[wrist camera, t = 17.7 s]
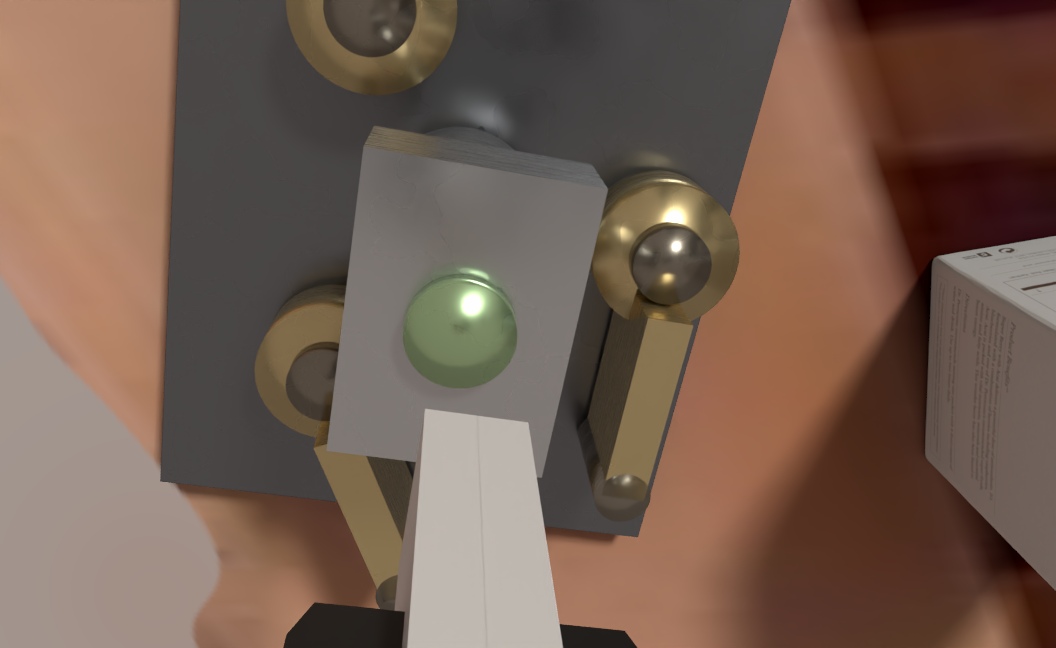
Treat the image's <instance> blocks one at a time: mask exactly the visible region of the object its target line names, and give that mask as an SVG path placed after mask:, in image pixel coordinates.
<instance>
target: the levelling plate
mask: <svg viewBox="0 0 1056 648" xmlns="http://www.w3.org/2000/svg"><path fill="white" fill-rule="evenodd" d="M790 3H791V0H457V23H456V29H455V34H454V37H453V40H452V43H451V46H450V48H449V50H448V52H447V54H446V56H445V57H444V59H443V60H442V62H441V63H440V65H439V66H438V67H437V68H436V69H435V70H434V72H433V73H431V74H430V75H429V76H428V77H427V78H426V79H424V80H423V81H422V82H420V83H419V84H417V85H415V86H413V87H411V88H409V89H407V90H404V91H401V92H398V93H394V94H388V95H365V94H361V93H356V92H352V91H350V90H347V89H344V88H342V87H340V86H338V85H336V84H334V83H332V82H331V81H329V80H328V79H326V78H325V77H324V76H322V75H321V74H320V73H319V72H318V71H317V70H315V68H314V67H313V66H312V65H311V64H310V63H309V62H308V61H307V59H306V58H305V57H304V55H303V54H302V52H301V51H300V49H299V47H298V45H297V43H296V42H295V39H294V37H293V34H292V32H291V29H290V25H289V22H288V18H287V10H286V0H180V22H179V46H178V70H177V94H176V118H175V142H174V166H173V190H172V214H171V238H170V262H169V286H168V311H167V335H166V359H165V383H164V407H163V431H162V455H161V480H160V481H162V482H171V483H179V484H188V485H196V486H205V487H213V488H222V489H231V490H239V491H248V492H256V493H265V494H273V495H282V496H290V497H299V498H307V499H316V500H325V501H333V502H338V501H337V499H336V497H335V495H334V493H333V490H332V488H331V486H330V484H329V482H328V479H327V477H326V475H325V473H324V470H323V468H322V466H321V464H320V462H319V459H318V457H317V455H316V453H315V451H314V444H315V441H316V437H311V436H307V435H305V434H302V433H299V432H297V431H295V430H293V429H291V428H289V427H288V426H286V425H285V424H283V423H282V422H281V421H279V420H278V419H277V418H276V417H275V416H274V415H273V414H272V413H271V412H270V411H269V409H268V408H267V407H266V405H265V404H264V402H263V400H262V398H261V397H260V394H259V392H258V389H257V385H256V381H255V361H256V356H257V353H258V350H259V348H260V345H261V343H262V341H263V339H264V338H265V336H266V334H267V332H268V330H269V328H270V326H271V324H272V322H273V320H274V318H275V317H276V315H277V313H278V312H279V310H280V309H281V308H282V306H283V305H284V304H285V303H286V302H288V301H289V300H290V299H291V298H293V297H294V296H295V295H297V294H299V293H301V292H302V291H305V290H307V289H310V288H313V287H317V286H321V285H345V286H346V294H345V303H344V311H343V319H342V327H341V335H340V344H339V352H338V360H337V368H336V376H335V385H334V393H333V401H332V409H331V417H330V426H329V434H328V442H327V450H326V451H331V452H339V453H347V454H355V455H363V456H371V457H379V458H387V459H395V460H403V461H405V462H406V464H407V467H408V469H409V472H410V474H411V477H412V479H413V477H414V471H415V465H416V459H417V453H418V447H419V441H420V435H421V429H422V423H423V417H424V411H425V409H431V410H439V411H446V412H454V413H461V414H469V415H476V416H484V417H491V418H499V419H506V420H514V421H521V422H528V424H529V431H530V437H531V444H532V450H533V457H534V463H535V470H536V476H537V483H538V489H539V496H540V502H541V508H542V515H543V521H544V526H547V527H555V528H564V529H572V530H581V531H589V532H598V533H606V534H615V535H623V536H632V537H638V535H639V531H640V528H641V524H642V521H643V517H644V514H645V511H644V512H643V513H642V514H641V515H640V516H638V517H637V518H635V519H632V520H629V521H625V522H616V521H611V520H609V519H606V518H605V517H603V516H602V515H601V514H600V513H599V512H598V510H597V508H596V505H595V501H594V497H593V493H592V489H591V485H590V481H589V478H588V474H587V470H586V466H585V462H584V458H583V454H582V450H581V446H580V442H579V438H578V431H579V427H580V425H581V424H582V422H583V421H584V420H585V419H586V418H587V416H588V412H589V408H590V404H591V400H592V396H593V392H594V388H595V384H596V380H597V376H598V372H599V368H600V363H601V359H602V355H603V351H604V347H605V343H606V339H607V335H608V331H609V327H610V323H611V319H612V314H613V309H612V308H611V307H610V306H609V305H608V303H607V302H606V301H605V300H604V298H603V296H602V295H601V293H600V291H599V289H598V286H597V284H596V282H595V279H594V277H593V275H592V272H591V270H590V266H591V261H592V257H593V253H594V248H595V244H596V240H597V235H598V231H599V227H600V222H601V218H602V214H603V209H604V205H605V201H606V196H607V192H608V189H609V188H610V187H612V186H613V185H614V184H616V183H617V182H619V181H621V180H622V179H624V178H626V177H629V176H631V175H633V174H637V173H640V172H645V171H658V170H661V171H669V172H673V173H677V174H680V175H683V176H685V177H687V178H689V179H690V180H692V181H694V182H695V183H696V184H698V185H699V186H700V187H701V188H702V189H704V190H705V191H706V192H707V193H708V194H709V195H710V196H711V197H712V198H713V199H714V200H716V201H717V202H718V203H719V204H720V205H721V206H722V207H723V208H724V209H725V211H726V212H727V213H728V215H729V216H730V213H731V209H732V206H733V202H734V199H735V195H736V192H737V188H738V185H739V181H740V178H741V174H742V171H743V167H744V164H745V160H746V157H747V153H748V150H749V146H750V143H751V139H752V136H753V132H754V129H755V125H756V122H757V118H758V115H759V111H760V108H761V104H762V101H763V97H764V94H765V90H766V87H767V83H768V80H769V76H770V73H771V69H772V66H773V62H774V59H775V55H776V52H777V48H778V45H779V42H780V38H781V35H782V31H783V28H784V24H785V21H786V17H787V14H788V10H789V7H790ZM700 318H701V316H700V317H698V318H696V319H695V320H692V321H691V322H692V324H693V329H692V332H691V336H690V340H689V343H688V347H687V350H686V354H685V357H684V361H683V364H682V368H681V371H680V375H679V378H678V382H677V385H676V389H675V392H674V396H673V399H672V403H671V406H670V410H669V414H668V417H667V421H666V424H665V428H664V431H663V435H662V438H661V442H660V445H659V449H658V452H657V456H656V459H655V463H654V466H653V470H652V473H651V477H650V481H649V484H648V487H649V490H650V493H651V489H652V486H653V482H654V479H655V475H656V472H657V468H658V465H659V461H660V458H661V454H662V451H663V447H664V444H665V440H666V437H667V433H668V430H669V426H670V423H671V419H672V416H673V412H674V409H675V405H676V402H677V398H678V395H679V391H680V388H681V384H682V381H683V377H684V374H685V370H686V367H687V363H688V360H689V356H690V353H691V349H692V346H693V342H694V339H695V335H696V332H697V328H698V325H699V321H700Z"/></svg>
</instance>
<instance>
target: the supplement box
mask: <svg viewBox="0 0 1056 648" xmlns="http://www.w3.org/2000/svg"><path fill="white" fill-rule="evenodd" d="M925 457H926V459H927V460H928V461H929V462H930V463H931V464H932V465H933V466H934V467H935V468H936V469H937V470H938V471H939V472H940V473H941V474H942V475H943V476H944V477H945V478H946V479H947V480H948V481H949V482H950V483H951V484H952V485H953V486H954V487H955V488H956V489H957V490H958V491H959V492H960V494H961V495H962V496H963V497H964V498H965V499H966V500H967V501H968V502H969V503H970V504H971V505H972V506H973V507H974V508H975V509H976V510H977V511H978V512H979V513H980V514H981V515H982V516H983V517H984V518H985V519H986V520H987V521H988V522H989V523H990V524H991V525H992V526H993V527H994V528H995V529H996V530H997V531H998V532H999V534H1000V535H1001V536H1002V537H1003V538H1004V539H1005V540H1006V541H1007V542H1008V543H1009V544H1010V545H1011V546H1012V547H1013V548H1014V549H1015V550H1016V551H1017V552H1018V553H1019V554H1020V555H1021V556H1022V557H1023V558H1024V559H1025V560H1026V561H1027V562H1028V563H1029V564H1030V565H1031V566H1032V567H1033V568H1034V569H1035V570H1036V571H1037V572H1038V573H1039V574H1040V575H1041V576H1042V577H1043V578H1044V579H1045V580H1046V581H1047V582H1048V583H1049V584H1050V585H1051V586H1052V587H1053V588H1054V590H1055V591H1056V236H1052V237H1047V238H1041V239H1035V240H1029V241H1023V242H1018V243H1012V244H1006V245H1000V246H994V247H988V248H982V249H976V250H970V251H964V252H958V253H952V254H947V255H942V256H937V257H936V258H934V260H933V262H932V280H931V306H930V332H929V357H928V383H927V410H926V438H925Z"/></svg>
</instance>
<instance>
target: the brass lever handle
mask: <svg viewBox="0 0 1056 648" xmlns="http://www.w3.org/2000/svg"><path fill="white" fill-rule="evenodd" d="M739 254H740V250H739V240H738V234H737V231H736V228H735V226H734V224H733V222H732V220H731V218H730V216H729V215H728V213H727V212H726V211H725V209H724V208H723V207H722V206H721V205H720V204H719V203H718V202H717V201H716V200H714V199H713V198H712V197H711V196H710V195H709V194H708V193H707V192H706V191H705V190H704V189H702V188H701V187H700V186H699V185H698V184H696V183H695V182H694V181H692V180H690V179H689V178H687V177H685V176H683V175H680V174H677V173H673V172H669V171H661V170H658V171H645V172H640V173H637V174H633V175H631V176H629V177H626V178H624V179H622V180H621V181H619V182H617V183H616V184H614V185H613V186H612V187H610V188H609V189H608V192H607V196H606V201H605V205H604V209H603V214H602V218H601V222H600V227H599V231H598V235H597V240H596V244H595V248H594V253H593V257H592V261H591V266H590V270H591V272H592V275H593V277H594V279H595V282H596V284H597V286H598V289H599V291H600V293H601V295H602V296H603V298H604V300H605V301H606V302H607V303H608V305H609V306H610V307H611V308H612V309H613V314H612V319H611V323H610V327H609V331H608V335H607V339H606V343H605V347H604V351H603V355H602V359H601V363H600V368H599V372H598V376H597V380H596V384H595V388H594V392H593V396H592V400H591V404H590V408H589V412H588V416H587V418H586V419H585V420H584V421H583V422H582V424H581V425H580V427H579V431H578V438H579V442H580V446H581V450H582V454H583V458H584V462H585V466H586V470H587V474H588V478H589V481H590V485H591V489H592V493H593V497H594V501H595V505H596V508H597V510H598V512H599V513H600V514H601V515H602V516H603V517H605V518H606V519H609V520H611V521H616V522H625V521H629V520H632V519H635V518H637V517H638V516H640V515H641V514H642V513H643V512H644V511H645V510H646V508H647V507H648V505H649V502H650V490H649V487H648V484H649V481H650V477H651V473H652V470H653V466H654V463H655V459H656V456H657V452H658V449H659V445H660V442H661V438H662V435H663V431H664V428H665V424H666V421H667V417H668V414H669V410H670V406H671V403H672V399H673V396H674V392H675V389H676V385H677V382H678V378H679V375H680V371H681V368H682V364H683V361H684V357H685V354H686V350H687V347H688V343H689V340H690V336H691V332H692V329H693V324H692V322H691V321H692V320H695V319H696V318H698V317H700V316H702V315H703V314H705V313H706V312H708V311H709V310H710V309H712V308H713V307H714V306H715V305H716V304H717V303H718V302H719V301H720V300H721V299H722V297H723V296H724V295H725V293H726V292H727V290H728V289H729V287H730V285H731V283H732V281H733V280H734V277H735V274H736V271H737V267H738V263H739Z"/></svg>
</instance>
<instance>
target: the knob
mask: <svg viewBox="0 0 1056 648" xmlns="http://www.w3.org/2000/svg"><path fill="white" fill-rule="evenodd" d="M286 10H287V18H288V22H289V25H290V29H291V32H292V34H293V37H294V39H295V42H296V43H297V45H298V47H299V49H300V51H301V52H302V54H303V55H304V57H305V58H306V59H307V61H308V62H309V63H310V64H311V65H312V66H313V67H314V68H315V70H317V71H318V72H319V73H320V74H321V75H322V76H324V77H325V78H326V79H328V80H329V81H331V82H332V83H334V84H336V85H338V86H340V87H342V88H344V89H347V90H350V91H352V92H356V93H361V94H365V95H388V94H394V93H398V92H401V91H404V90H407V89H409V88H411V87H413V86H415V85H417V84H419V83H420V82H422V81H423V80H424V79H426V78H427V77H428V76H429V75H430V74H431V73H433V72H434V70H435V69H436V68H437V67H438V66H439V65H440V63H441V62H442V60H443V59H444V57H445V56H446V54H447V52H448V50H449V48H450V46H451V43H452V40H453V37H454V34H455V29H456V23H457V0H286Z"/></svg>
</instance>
